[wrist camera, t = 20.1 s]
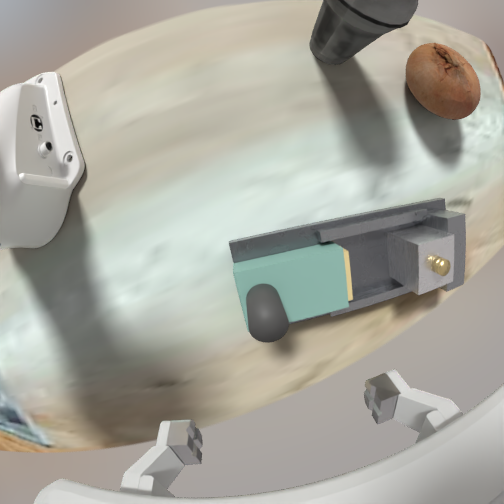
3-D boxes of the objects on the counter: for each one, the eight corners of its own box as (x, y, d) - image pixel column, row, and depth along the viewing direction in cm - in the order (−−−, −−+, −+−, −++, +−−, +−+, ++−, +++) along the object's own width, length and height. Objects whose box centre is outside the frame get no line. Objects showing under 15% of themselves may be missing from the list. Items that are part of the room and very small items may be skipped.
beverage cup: (367, 74, 23) (490, -5, 4) (307, 77, 23) (405, -46, 4) (347, 25, 22) (433, -73, 2) (289, 25, 22) (342, -105, 2)
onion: (387, 85, 26) (391, 39, 17) (433, 61, 23) (446, 17, 14) (434, 143, 25) (458, 111, 16) (478, 115, 22) (507, 81, 12)
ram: (233, 263, 27) (232, 294, 19) (337, 239, 27) (373, 261, 19) (246, 316, 28) (250, 362, 20) (343, 293, 28) (375, 328, 20)
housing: (420, 224, 27) (461, 236, 20) (422, 265, 28) (460, 285, 21) (386, 232, 27) (425, 248, 20) (389, 275, 28) (425, 299, 21)
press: (229, 241, 27) (227, 256, 21) (439, 198, 27) (472, 202, 21) (250, 328, 29) (253, 359, 24) (441, 273, 29) (470, 288, 24)
